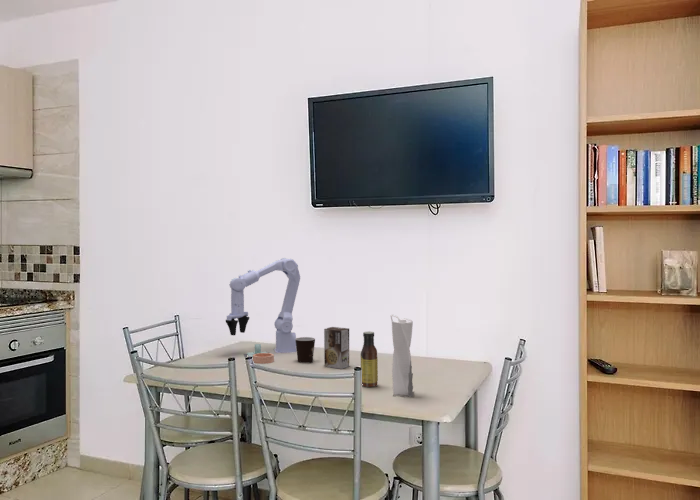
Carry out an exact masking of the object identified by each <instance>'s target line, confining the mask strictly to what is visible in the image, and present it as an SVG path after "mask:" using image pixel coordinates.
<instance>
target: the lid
mask: <svg viewBox="0 0 700 500" xmlns="http://www.w3.org/2000/svg"><path fill="white" fill-rule="evenodd" d="M257 353H268V351H262V344H261V343H255V344H254V352H253V351H251V352H246V354H247V355H248V356H251V357H253V355H254V354H257Z"/></svg>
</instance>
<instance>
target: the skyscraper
mask: <svg viewBox="0 0 700 500" xmlns="http://www.w3.org/2000/svg"><path fill="white" fill-rule="evenodd" d="M393 317H394V318H397V320H394V321H393ZM390 319H391V331H392V332H391V335H392V345H393V353H392V364H391V365H392V367H391V368H392V370H391V372H392V373H391V374H392V376H391V377H392V379H391V380H392V393H393V394H392V397H396V396H400V397H401V398H414V395H415V391H414V385H413V376H414V373H412V369H413V367H412V355H411V350H410V348H411V343H412V335H413V320H412V319H409V318H400V317H399V316H397V315H394V314H391V315H390Z"/></svg>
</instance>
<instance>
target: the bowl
mask: <svg viewBox="0 0 700 500" xmlns="http://www.w3.org/2000/svg"><path fill="white" fill-rule="evenodd" d="M253 361H254V363H253V364H257V365H258V364H261V365H264V364H271V363H273V362H275V355H274V353H271V352H269V353H268V352H267V353H257V354H254V355H253V359H252V362H253Z"/></svg>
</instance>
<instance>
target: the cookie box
mask: <svg viewBox="0 0 700 500" xmlns="http://www.w3.org/2000/svg"><path fill="white" fill-rule="evenodd" d="M323 334H324V335H323V339H324V340H323V341H324V342H323V343H324V344H323V345H324V346H323V347H324V349H323V350H324V351H323V352H324V355H323V356H324V359H323V360H324V361H323V362H324V367H327V368H335V369H340V370H342V369H345V368H349V367H350V328H346V327H339V326H331V327H326V328H324V329H323Z"/></svg>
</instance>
